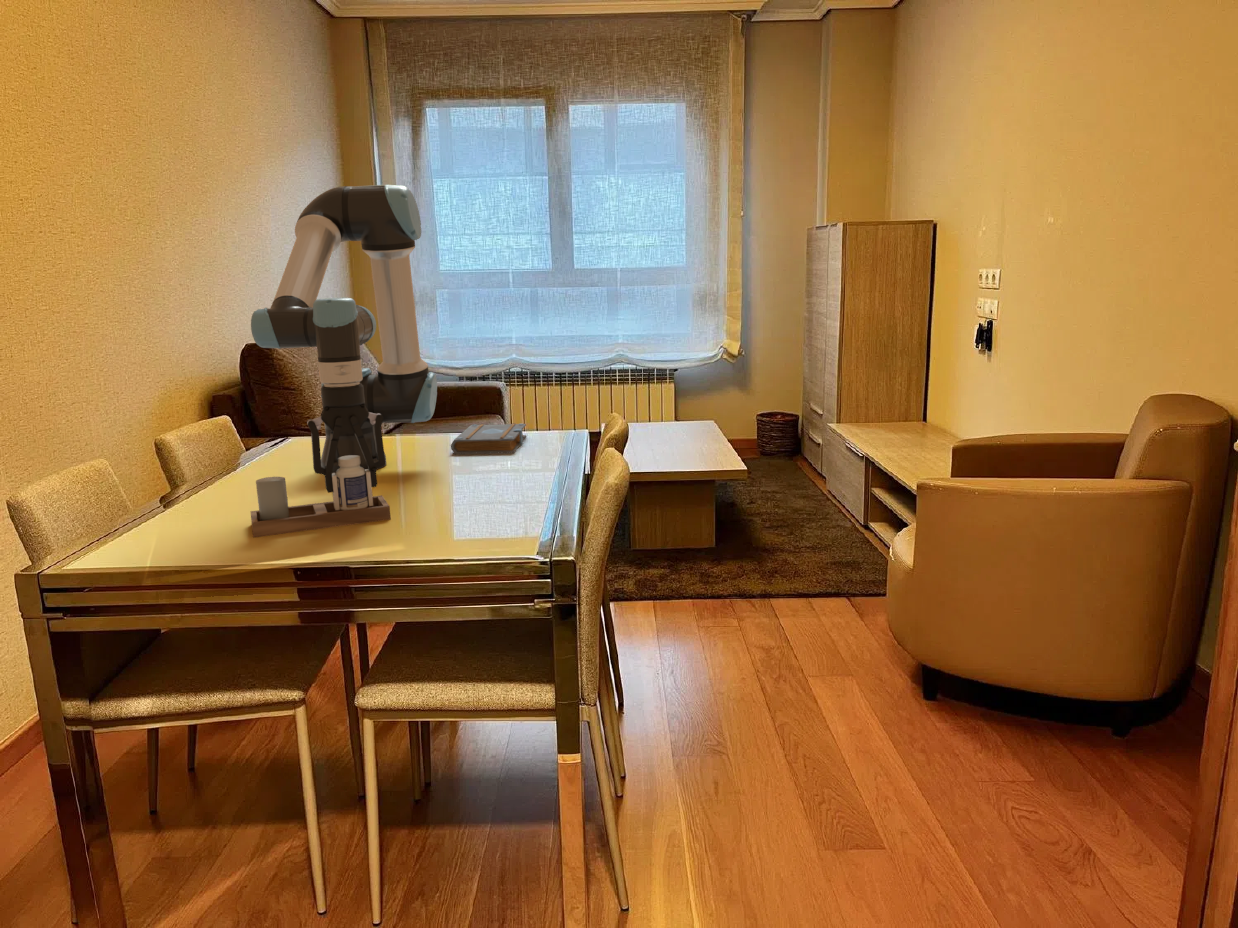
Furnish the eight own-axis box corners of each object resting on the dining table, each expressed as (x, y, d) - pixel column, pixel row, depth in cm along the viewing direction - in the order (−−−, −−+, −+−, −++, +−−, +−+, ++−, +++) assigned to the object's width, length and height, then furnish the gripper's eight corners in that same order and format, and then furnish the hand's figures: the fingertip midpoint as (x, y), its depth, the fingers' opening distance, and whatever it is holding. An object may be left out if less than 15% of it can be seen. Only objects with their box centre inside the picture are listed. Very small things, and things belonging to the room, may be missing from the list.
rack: (252, 529, 171) (250, 511, 170) (383, 512, 180) (382, 495, 179) (253, 542, 163) (251, 523, 162) (391, 524, 172) (389, 506, 171)
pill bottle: (374, 504, 174) (369, 454, 172) (357, 512, 169) (352, 461, 167) (350, 503, 176) (345, 453, 174) (333, 510, 171) (327, 459, 169)
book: (468, 439, 253) (467, 421, 252) (528, 438, 252) (527, 420, 251) (451, 456, 233) (450, 436, 231) (516, 454, 232) (515, 435, 231)
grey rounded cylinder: (260, 525, 169) (255, 478, 167) (289, 522, 171) (284, 475, 169) (261, 532, 165) (256, 484, 163) (291, 529, 167) (286, 481, 165)
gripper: (290, 390, 161) (303, 517, 166) (396, 382, 168) (406, 504, 173) (287, 385, 168) (300, 507, 173) (389, 377, 174) (399, 495, 180)
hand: (353, 505), depth 173 cm, fingers closed on pill bottle, 5 cm apart
